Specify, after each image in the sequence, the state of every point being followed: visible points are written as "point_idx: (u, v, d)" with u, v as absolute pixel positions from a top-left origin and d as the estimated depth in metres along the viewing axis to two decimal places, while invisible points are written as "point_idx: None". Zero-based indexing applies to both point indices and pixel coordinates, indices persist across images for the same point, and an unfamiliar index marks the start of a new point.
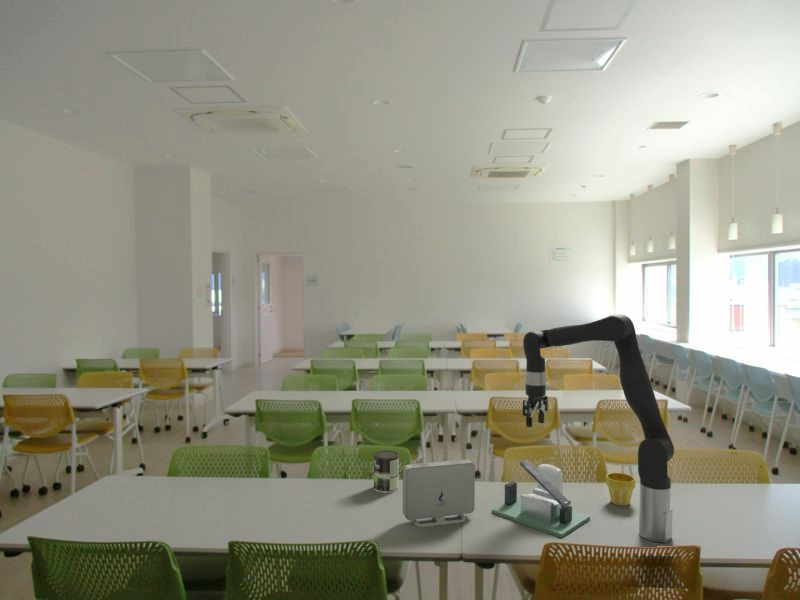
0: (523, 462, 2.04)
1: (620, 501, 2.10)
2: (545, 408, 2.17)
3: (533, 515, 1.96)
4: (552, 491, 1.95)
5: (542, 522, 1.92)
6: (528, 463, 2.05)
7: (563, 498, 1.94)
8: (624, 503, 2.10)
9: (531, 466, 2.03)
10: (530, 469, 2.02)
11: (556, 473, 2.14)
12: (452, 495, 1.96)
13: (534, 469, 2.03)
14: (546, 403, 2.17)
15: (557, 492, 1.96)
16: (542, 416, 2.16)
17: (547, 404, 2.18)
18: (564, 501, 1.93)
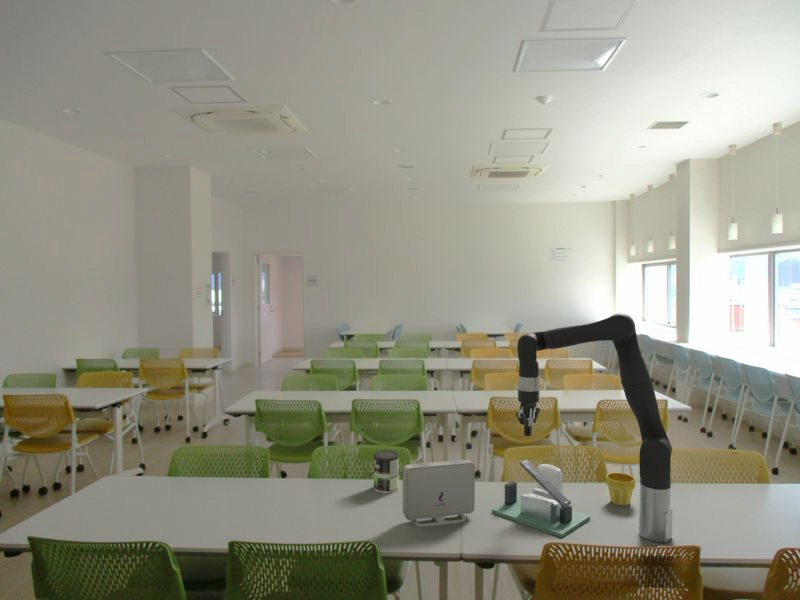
0: (523, 462, 2.04)
1: (620, 501, 2.10)
2: (533, 419, 2.04)
3: (533, 515, 1.96)
4: (552, 491, 1.95)
5: (542, 522, 1.92)
6: (528, 463, 2.05)
7: (563, 498, 1.94)
8: (624, 503, 2.10)
9: (531, 466, 2.03)
10: (530, 469, 2.02)
11: (556, 473, 2.14)
12: (452, 495, 1.96)
13: (534, 469, 2.03)
14: (536, 414, 2.05)
15: (557, 492, 1.96)
16: None
17: None
18: (564, 501, 1.93)
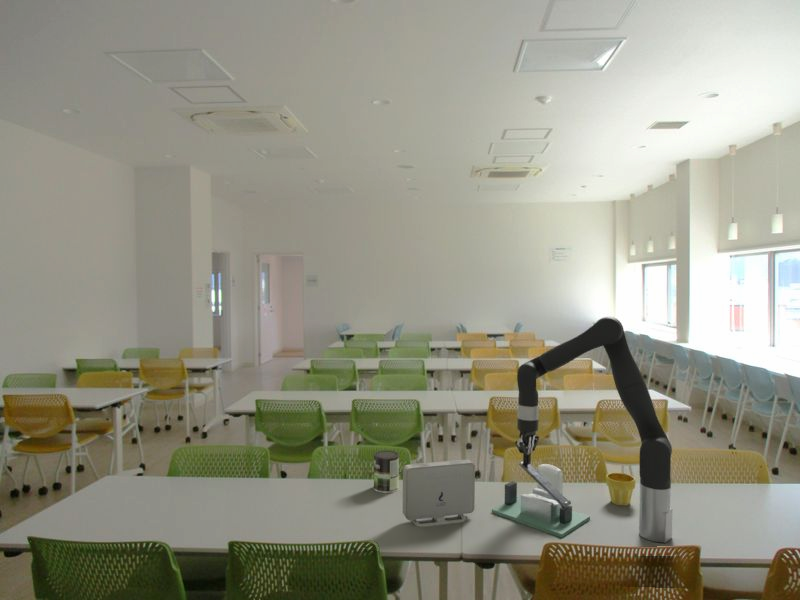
0: (523, 463, 2.04)
1: (620, 501, 2.10)
2: None
3: (533, 515, 1.96)
4: (552, 491, 1.95)
5: (542, 522, 1.92)
6: None
7: (563, 498, 1.94)
8: (624, 503, 2.10)
9: (531, 467, 2.04)
10: (530, 470, 2.02)
11: (556, 473, 2.14)
12: (452, 495, 1.96)
13: (534, 470, 2.03)
14: (535, 442, 2.05)
15: (557, 492, 1.96)
16: None
17: None
18: (564, 501, 1.93)
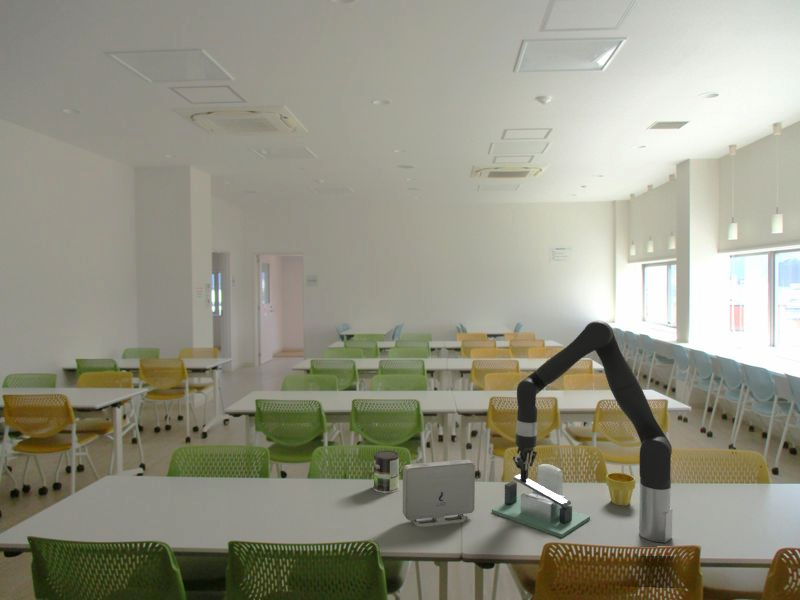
0: (517, 476, 2.06)
1: (620, 501, 2.10)
2: None
3: (533, 515, 1.96)
4: (550, 495, 1.96)
5: (542, 522, 1.92)
6: None
7: (562, 499, 1.95)
8: (624, 503, 2.10)
9: None
10: (525, 481, 2.03)
11: (556, 473, 2.14)
12: (452, 495, 1.96)
13: (529, 480, 2.04)
14: (533, 458, 2.06)
15: (555, 495, 1.97)
16: None
17: (533, 460, 2.06)
18: (563, 501, 1.93)
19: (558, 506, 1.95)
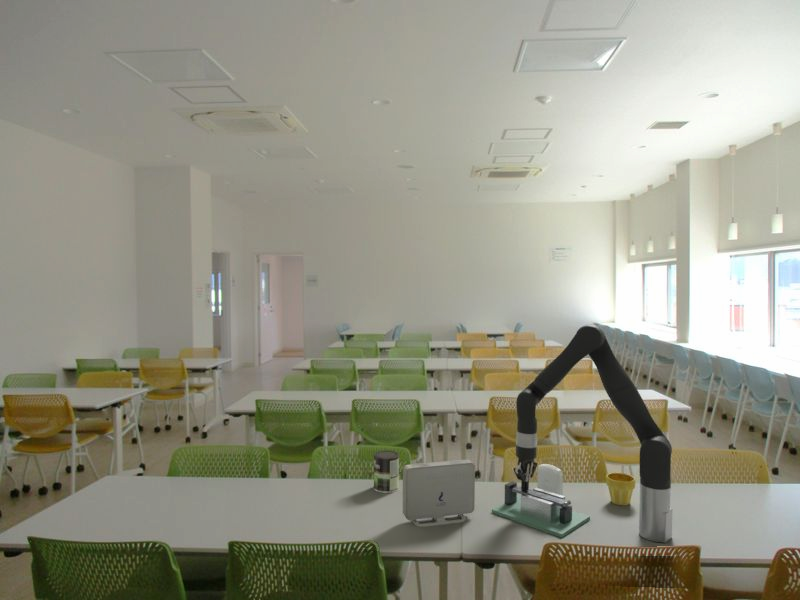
0: (515, 488, 2.06)
1: (620, 501, 2.10)
2: None
3: (533, 515, 1.96)
4: (549, 499, 1.96)
5: (542, 522, 1.92)
6: (520, 487, 2.07)
7: (562, 500, 1.95)
8: (624, 503, 2.10)
9: None
10: None
11: (556, 473, 2.14)
12: (452, 495, 1.96)
13: None
14: (534, 469, 2.06)
15: (554, 498, 1.97)
16: None
17: (534, 471, 2.06)
18: (563, 502, 1.93)
19: (558, 506, 1.95)
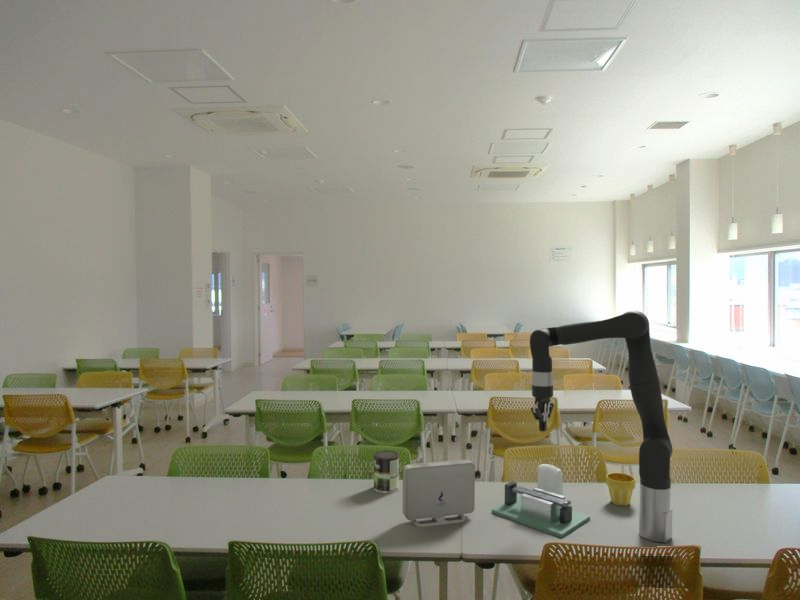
0: (515, 488, 2.06)
1: (620, 501, 2.10)
2: (548, 414, 2.04)
3: (533, 515, 1.96)
4: (549, 499, 1.96)
5: (542, 522, 1.92)
6: (520, 487, 2.07)
7: (562, 500, 1.95)
8: (624, 503, 2.10)
9: (524, 488, 2.06)
10: (523, 490, 2.04)
11: (556, 473, 2.14)
12: (452, 495, 1.96)
13: (527, 490, 2.05)
14: (551, 409, 2.05)
15: (554, 498, 1.97)
16: None
17: (551, 412, 2.05)
18: (563, 502, 1.93)
19: (558, 506, 1.95)
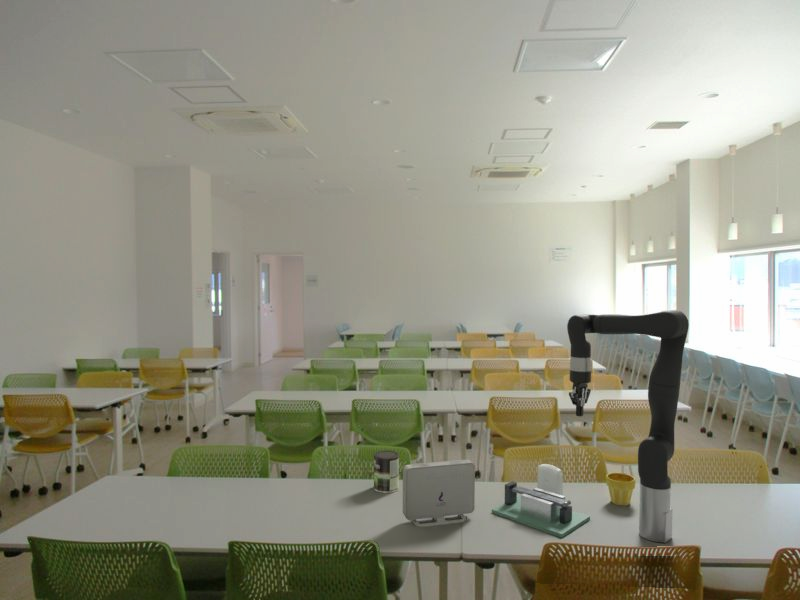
0: (515, 488, 2.06)
1: (620, 501, 2.10)
2: (585, 399, 2.06)
3: (533, 515, 1.96)
4: (549, 499, 1.96)
5: (542, 522, 1.92)
6: (520, 487, 2.07)
7: (562, 500, 1.95)
8: (624, 503, 2.10)
9: (524, 488, 2.06)
10: (523, 490, 2.04)
11: (556, 473, 2.14)
12: (452, 495, 1.96)
13: (527, 490, 2.05)
14: (587, 395, 2.06)
15: (554, 498, 1.97)
16: None
17: (588, 397, 2.07)
18: (563, 502, 1.93)
19: (558, 506, 1.95)
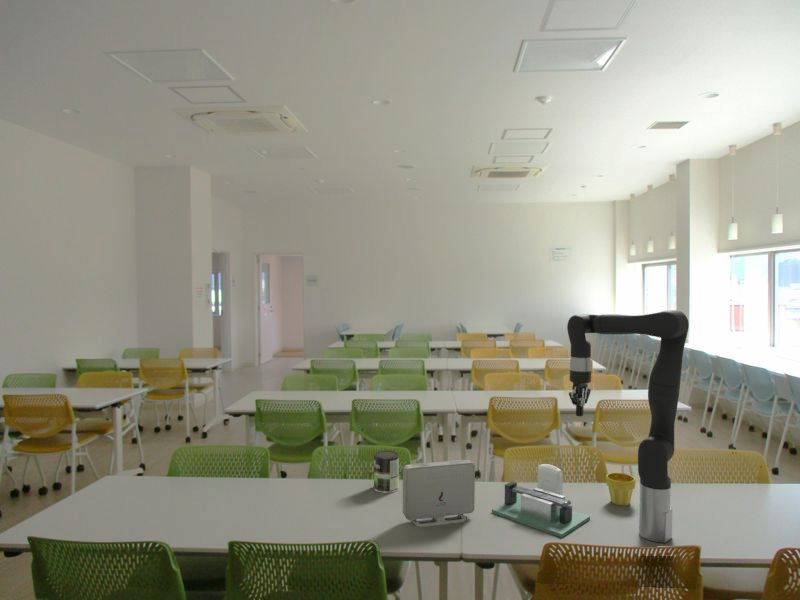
0: (515, 488, 2.06)
1: (620, 501, 2.10)
2: (585, 399, 2.06)
3: (533, 515, 1.96)
4: (549, 499, 1.96)
5: (542, 522, 1.92)
6: (520, 487, 2.07)
7: (562, 500, 1.95)
8: (624, 503, 2.10)
9: (524, 488, 2.06)
10: (523, 490, 2.04)
11: (556, 473, 2.14)
12: (452, 495, 1.96)
13: (527, 490, 2.05)
14: (587, 395, 2.06)
15: (554, 498, 1.97)
16: None
17: (588, 397, 2.07)
18: (563, 502, 1.93)
19: (558, 506, 1.95)
